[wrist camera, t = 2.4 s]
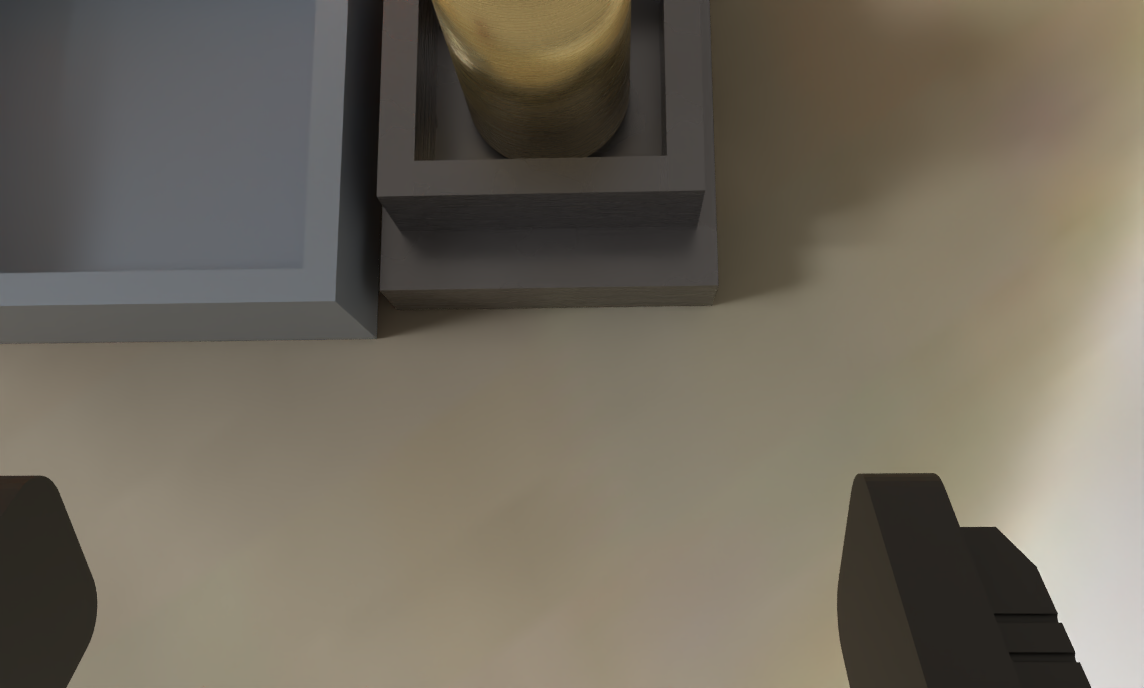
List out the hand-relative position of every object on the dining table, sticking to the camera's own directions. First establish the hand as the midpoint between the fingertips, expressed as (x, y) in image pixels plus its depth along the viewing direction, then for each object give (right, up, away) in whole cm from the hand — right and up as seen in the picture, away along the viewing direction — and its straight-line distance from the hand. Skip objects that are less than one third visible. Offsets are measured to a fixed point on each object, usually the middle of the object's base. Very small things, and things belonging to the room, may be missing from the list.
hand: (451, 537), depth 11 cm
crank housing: (+1, +10, +18) cm, 20 cm away
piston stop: (+1, +8, +15) cm, 17 cm away
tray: (-9, +8, +18) cm, 22 cm away
